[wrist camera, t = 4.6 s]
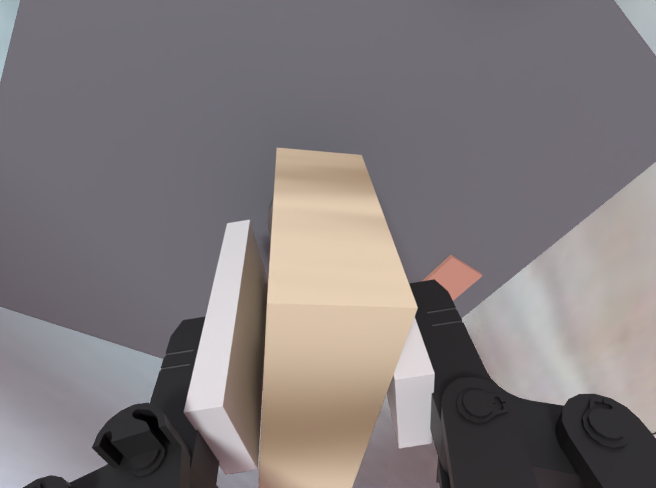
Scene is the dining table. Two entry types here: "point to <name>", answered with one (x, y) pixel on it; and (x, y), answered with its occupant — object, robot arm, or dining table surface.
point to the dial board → (301, 139)
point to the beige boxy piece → (327, 320)
